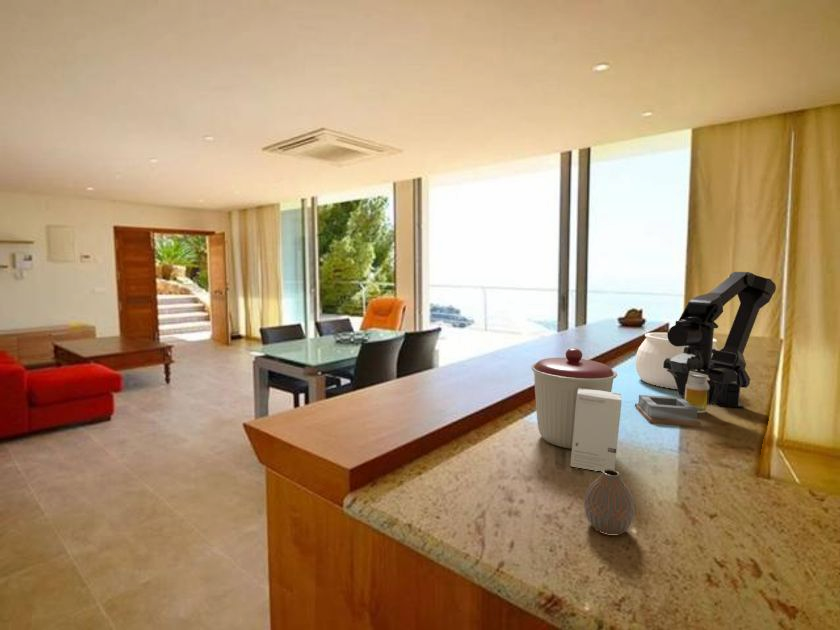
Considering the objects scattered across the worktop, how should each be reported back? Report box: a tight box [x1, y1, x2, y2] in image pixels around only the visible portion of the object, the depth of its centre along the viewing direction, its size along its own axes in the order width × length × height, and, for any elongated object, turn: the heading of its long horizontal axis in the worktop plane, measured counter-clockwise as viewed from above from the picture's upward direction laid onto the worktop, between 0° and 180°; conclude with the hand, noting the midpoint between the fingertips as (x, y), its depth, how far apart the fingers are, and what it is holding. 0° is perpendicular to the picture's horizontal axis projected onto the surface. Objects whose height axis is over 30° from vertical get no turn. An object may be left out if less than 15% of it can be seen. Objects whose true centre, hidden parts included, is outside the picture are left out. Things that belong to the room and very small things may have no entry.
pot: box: [634, 332, 720, 391], centre depth 161 cm, size 29×26×16 cm
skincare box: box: [569, 388, 622, 471], centre depth 91 cm, size 8×6×15 cm
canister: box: [530, 348, 618, 450], centre depth 104 cm, size 18×18×21 cm
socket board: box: [634, 394, 702, 428], centre depth 125 cm, size 14×12×4 cm
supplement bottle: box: [683, 375, 709, 414], centre depth 130 cm, size 5×5×10 cm
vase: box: [583, 469, 635, 535], centre depth 69 cm, size 7×7×9 cm
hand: (695, 399), depth 130 cm, fingers open, 9 cm apart
